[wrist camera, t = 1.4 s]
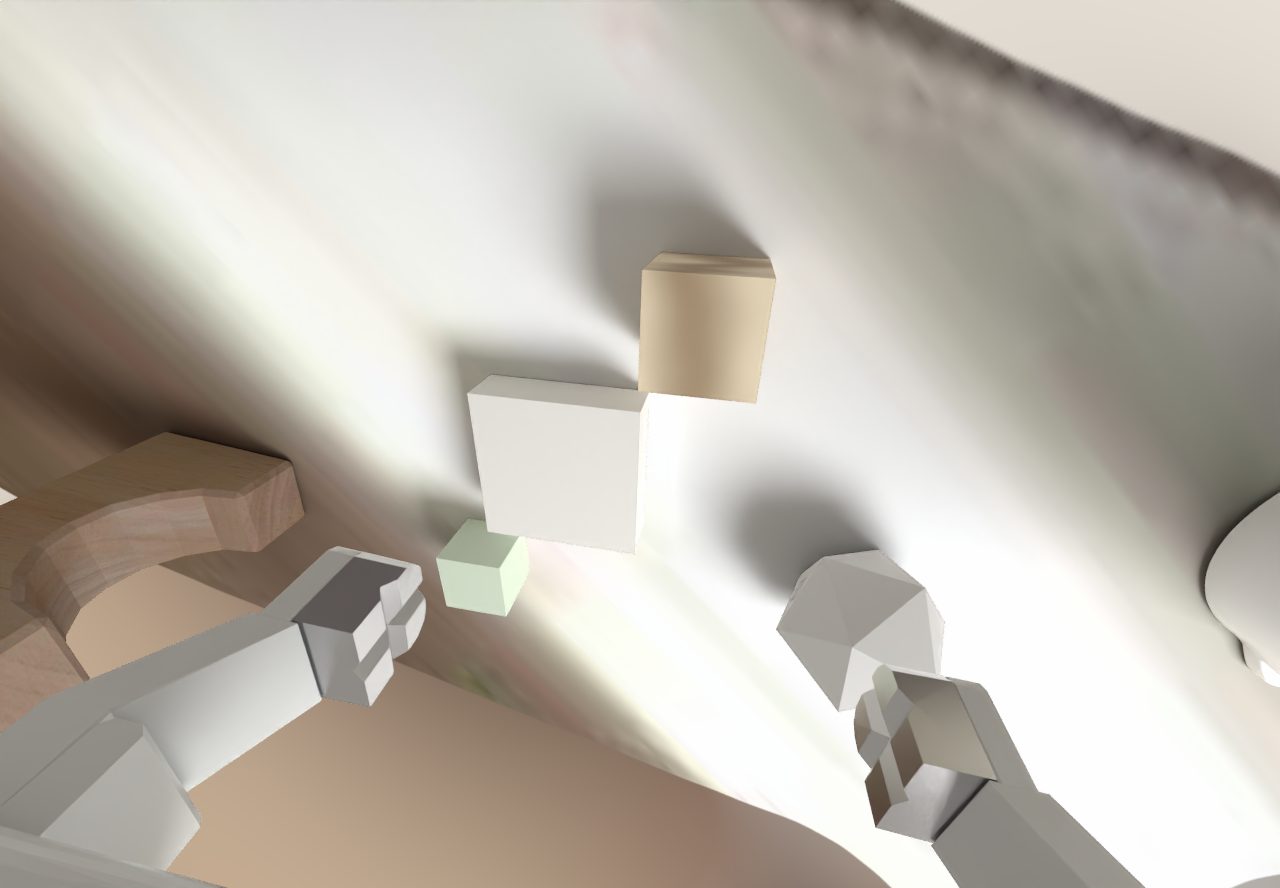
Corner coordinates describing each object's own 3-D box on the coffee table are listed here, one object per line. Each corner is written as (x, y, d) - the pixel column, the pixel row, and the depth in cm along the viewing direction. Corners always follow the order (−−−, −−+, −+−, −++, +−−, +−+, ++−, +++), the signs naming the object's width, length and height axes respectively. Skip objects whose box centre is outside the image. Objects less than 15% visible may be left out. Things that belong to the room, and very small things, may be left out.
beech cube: (770, 258, 25) (775, 278, 20) (754, 363, 27) (756, 403, 23) (661, 251, 25) (641, 269, 21) (655, 354, 28) (638, 391, 23)
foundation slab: (649, 391, 29) (640, 412, 27) (643, 525, 34) (634, 554, 31) (490, 374, 31) (467, 393, 28) (506, 505, 35) (487, 531, 33)
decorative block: (296, 459, 37) (-92, 707, 20) (309, 518, 40) (-20, 779, 23) (164, 426, 38) (-315, 636, 21) (187, 485, 41) (-219, 714, 24)
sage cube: (525, 526, 36) (499, 568, 32) (530, 571, 38) (506, 616, 35) (468, 517, 37) (435, 558, 33) (476, 562, 39) (446, 605, 35)
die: (788, 508, 32) (736, 662, 28) (946, 529, 26) (907, 731, 22) (832, 562, 37) (793, 699, 33) (973, 591, 31) (944, 763, 27)
